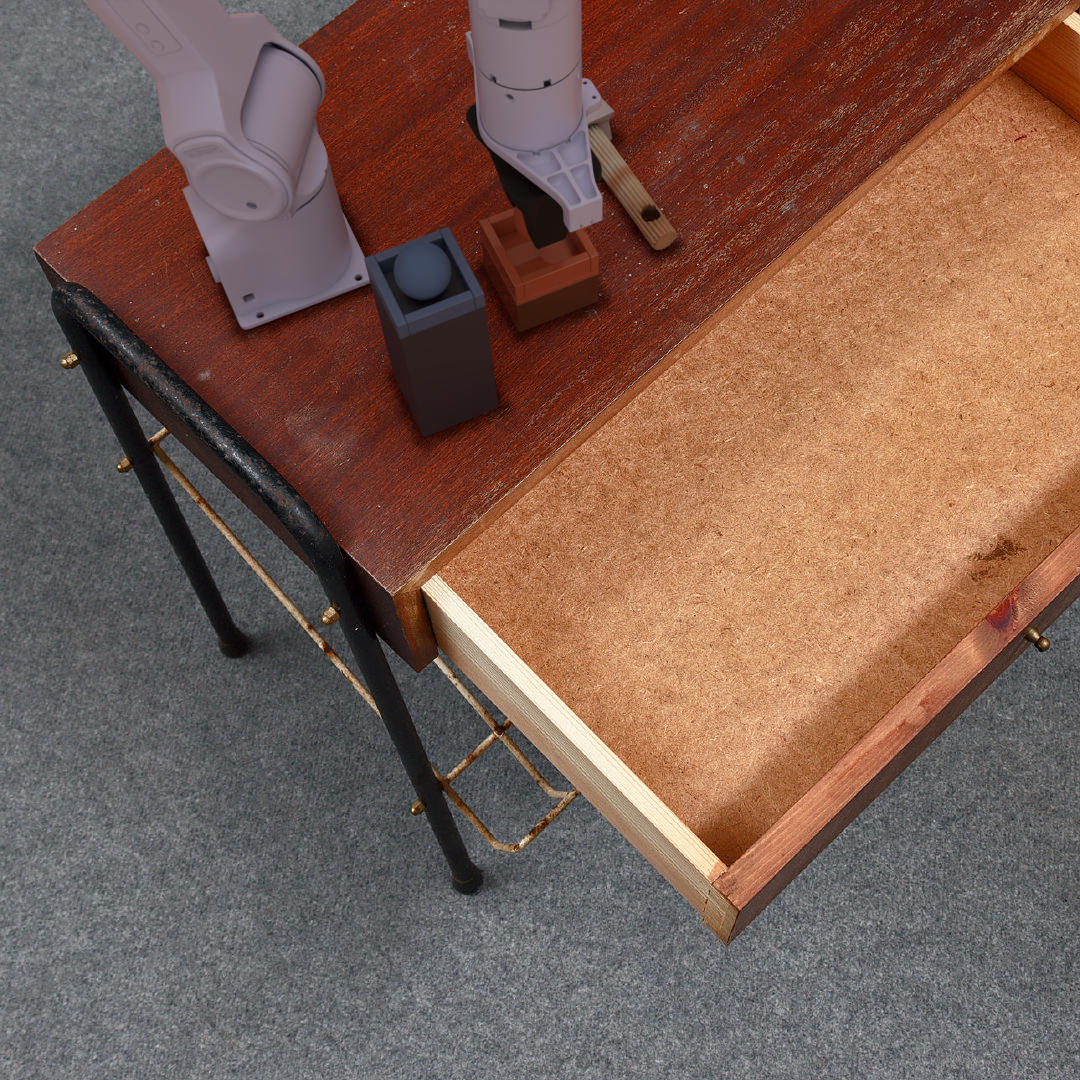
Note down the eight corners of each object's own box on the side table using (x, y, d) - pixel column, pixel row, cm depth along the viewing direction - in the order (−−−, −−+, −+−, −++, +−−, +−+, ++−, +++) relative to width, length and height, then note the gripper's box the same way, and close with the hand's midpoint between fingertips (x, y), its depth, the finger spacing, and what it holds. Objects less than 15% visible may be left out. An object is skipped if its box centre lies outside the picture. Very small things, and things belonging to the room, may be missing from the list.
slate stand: (423, 438, 80) (397, 327, 69) (393, 375, 82) (363, 258, 71) (498, 408, 81) (484, 293, 70) (467, 346, 83) (448, 225, 72)
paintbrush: (547, 18, 91) (690, 218, 84) (547, 46, 94) (686, 243, 87) (500, 37, 91) (640, 240, 84) (501, 66, 93) (637, 265, 86)
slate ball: (410, 319, 71) (402, 285, 68) (389, 277, 72) (381, 241, 69) (462, 299, 71) (457, 264, 69) (441, 258, 73) (435, 221, 70)
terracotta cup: (519, 333, 84) (515, 287, 79) (484, 268, 86) (478, 220, 81) (598, 301, 84) (599, 254, 80) (562, 238, 87) (560, 189, 82)
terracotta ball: (527, 260, 79) (524, 227, 77) (506, 223, 81) (503, 189, 78) (573, 242, 80) (572, 208, 77) (552, 206, 81) (550, 172, 78)
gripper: (657, 118, 64) (647, 282, 77) (540, -61, 70) (548, 118, 82) (530, 166, 63) (540, 324, 76) (422, -20, 69) (448, 155, 81)
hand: (537, 219), depth 79 cm, fingers closed on terracotta ball, 3 cm apart
